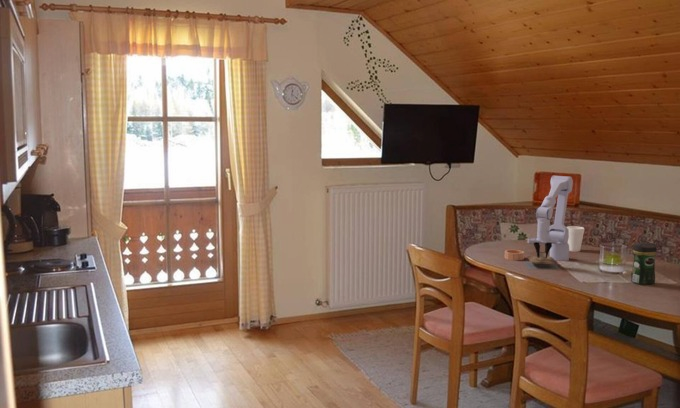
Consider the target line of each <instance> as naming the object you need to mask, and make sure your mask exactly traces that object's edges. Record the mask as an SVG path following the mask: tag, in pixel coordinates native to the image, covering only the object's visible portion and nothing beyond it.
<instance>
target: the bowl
mask: <svg viewBox="0 0 680 408" xmlns="http://www.w3.org/2000/svg"><path fill="white" fill-rule="evenodd" d="M504 259H506V260H508V261H523V260H525V251H524V250H519V249H506V250H504Z"/></svg>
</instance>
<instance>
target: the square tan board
mask: <svg viewBox="0 0 680 408" xmlns="http://www.w3.org/2000/svg"><path fill="white" fill-rule="evenodd" d="M539 254H540V256H539V258H538V257H537V255H536V256H534V255H533V256H531V255H527V259H528V260H529V262H531V263H542V264H556V265H558V262H557V260H554V259H553V258H552V257H549V256H547V258H546V252H545V251H540V252H539Z"/></svg>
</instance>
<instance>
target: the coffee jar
mask: <svg viewBox="0 0 680 408" xmlns="http://www.w3.org/2000/svg"><path fill="white" fill-rule="evenodd" d="M657 248H658V247H657V244H656V243H653V242H638V243H636V242H635V243H634V244H633V248H632V252H633V265H632V271H631V277H630V281H631V282H632V283H634V284H635V285H636V284H637V285H643V286H645V285H647V286H648V285H653V284H655V282H656V262H655V261H656V256H657V252H658V251H657V250H658V249H657Z"/></svg>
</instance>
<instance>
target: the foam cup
mask: <svg viewBox="0 0 680 408" xmlns="http://www.w3.org/2000/svg"><path fill="white" fill-rule="evenodd" d="M566 227H567V228H568V230H569V239H568V242H567V243H568V244H569V252H573V253H574V252H575V253H577V252H581V248H582V243H583V238H584V233H585V227H583V226H577V225H569V226H566Z"/></svg>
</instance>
